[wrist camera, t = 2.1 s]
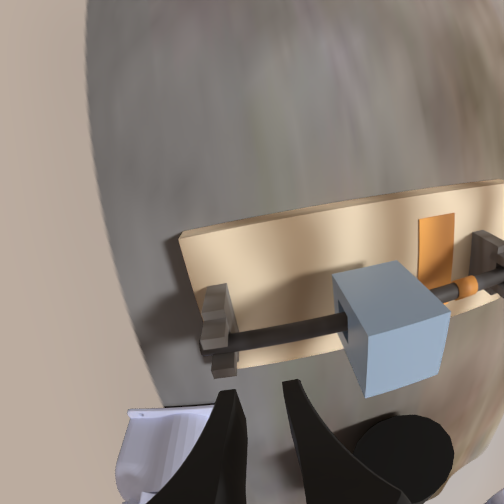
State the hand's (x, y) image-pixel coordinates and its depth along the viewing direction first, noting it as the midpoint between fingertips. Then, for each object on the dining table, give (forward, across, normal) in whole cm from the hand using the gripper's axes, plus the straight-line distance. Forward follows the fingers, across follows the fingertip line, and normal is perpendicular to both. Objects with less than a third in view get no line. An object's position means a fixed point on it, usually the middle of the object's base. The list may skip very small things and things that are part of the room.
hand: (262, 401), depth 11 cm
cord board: (+9, -8, 0) cm, 13 cm away
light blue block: (+6, -6, 0) cm, 9 cm away
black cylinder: (+10, -11, +34) cm, 37 cm away
